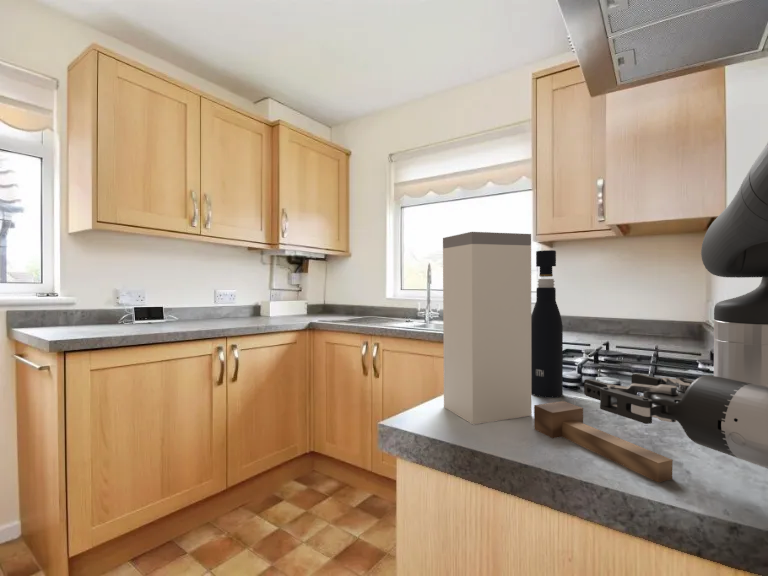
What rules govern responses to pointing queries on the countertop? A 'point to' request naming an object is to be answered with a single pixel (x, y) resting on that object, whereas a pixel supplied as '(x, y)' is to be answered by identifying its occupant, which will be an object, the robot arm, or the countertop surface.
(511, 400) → the stand
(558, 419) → the mallet
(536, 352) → the black bottle
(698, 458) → the countertop surface
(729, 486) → the countertop surface
